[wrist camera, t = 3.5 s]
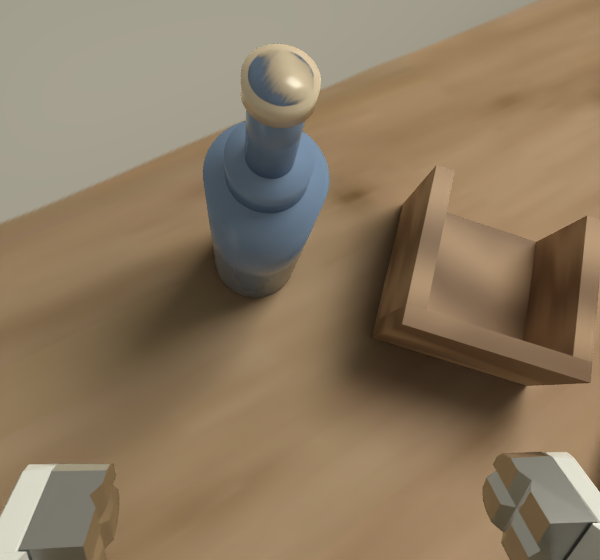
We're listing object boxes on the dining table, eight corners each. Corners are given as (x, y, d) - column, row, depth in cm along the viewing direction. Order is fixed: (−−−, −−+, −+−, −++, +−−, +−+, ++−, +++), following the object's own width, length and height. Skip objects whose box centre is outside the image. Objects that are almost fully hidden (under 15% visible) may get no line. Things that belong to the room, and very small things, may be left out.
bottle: (310, 260, 31) (403, 87, 14) (254, 313, 30) (282, 194, 12) (255, 207, 32) (280, -24, 14) (198, 257, 30) (149, 66, 13)
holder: (402, 204, 33) (436, 164, 28) (543, 250, 34) (604, 221, 28) (371, 337, 30) (402, 324, 25) (526, 385, 31) (590, 382, 25)
